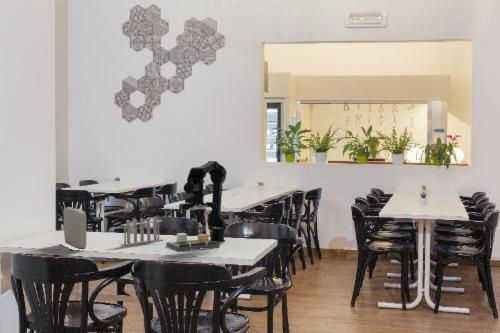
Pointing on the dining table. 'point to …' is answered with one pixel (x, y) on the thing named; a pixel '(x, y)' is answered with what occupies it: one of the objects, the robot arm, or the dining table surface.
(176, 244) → the breaker panel
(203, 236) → the block
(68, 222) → the wireless router
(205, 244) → the cord bundle
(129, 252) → the dining table surface
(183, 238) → the block
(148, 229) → the test tube rack
